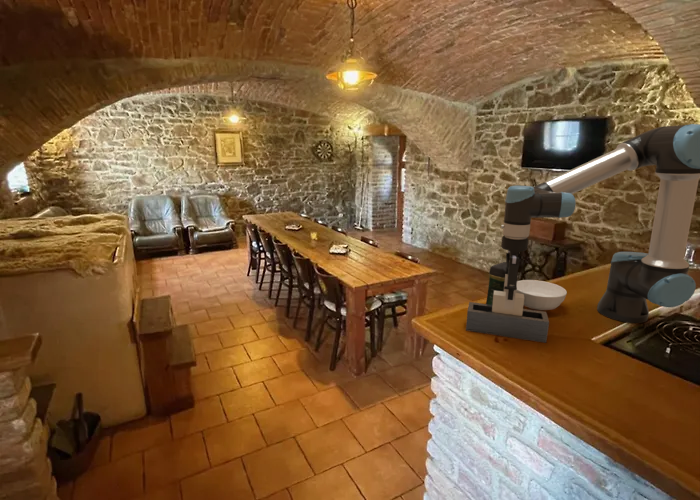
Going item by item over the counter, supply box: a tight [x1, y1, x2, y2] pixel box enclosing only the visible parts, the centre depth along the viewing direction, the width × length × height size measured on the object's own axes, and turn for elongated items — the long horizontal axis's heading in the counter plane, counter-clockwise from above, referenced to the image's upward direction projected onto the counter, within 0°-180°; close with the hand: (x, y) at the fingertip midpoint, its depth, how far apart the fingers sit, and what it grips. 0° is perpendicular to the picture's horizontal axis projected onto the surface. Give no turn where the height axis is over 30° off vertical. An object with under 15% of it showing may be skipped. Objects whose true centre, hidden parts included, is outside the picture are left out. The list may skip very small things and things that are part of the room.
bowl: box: [516, 279, 568, 311], centre depth 144 cm, size 18×18×7 cm
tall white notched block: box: [492, 291, 524, 316], centre depth 124 cm, size 9×4×12 cm, turn 69°
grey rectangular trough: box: [465, 301, 550, 344], centre depth 125 cm, size 24×8×7 cm, turn 69°
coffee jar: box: [485, 261, 514, 305], centre depth 137 cm, size 10×8×19 cm
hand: (508, 300), depth 123 cm, fingers open, 13 cm apart
